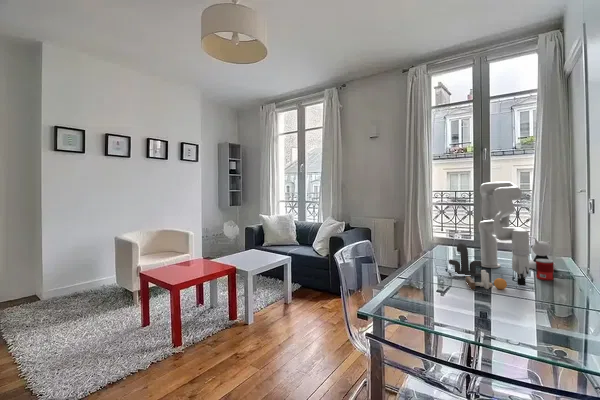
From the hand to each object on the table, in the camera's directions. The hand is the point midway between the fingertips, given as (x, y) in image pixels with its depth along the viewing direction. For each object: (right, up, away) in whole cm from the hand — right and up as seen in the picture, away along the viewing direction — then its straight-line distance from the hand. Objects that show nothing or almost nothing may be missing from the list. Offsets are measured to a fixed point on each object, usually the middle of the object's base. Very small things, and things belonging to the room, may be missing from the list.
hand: (521, 285), depth 161 cm
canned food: (+22, 0, +11) cm, 25 cm away
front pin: (-14, -1, +4) cm, 14 cm away
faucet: (-15, -1, +31) cm, 34 cm away
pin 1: (-16, -2, +8) cm, 18 cm away
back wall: (-24, -3, +7) cm, 25 cm away
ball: (-12, +1, 0) cm, 12 cm away
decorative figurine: (+35, +2, +29) cm, 46 cm away
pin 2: (-17, -3, +3) cm, 18 cm away
